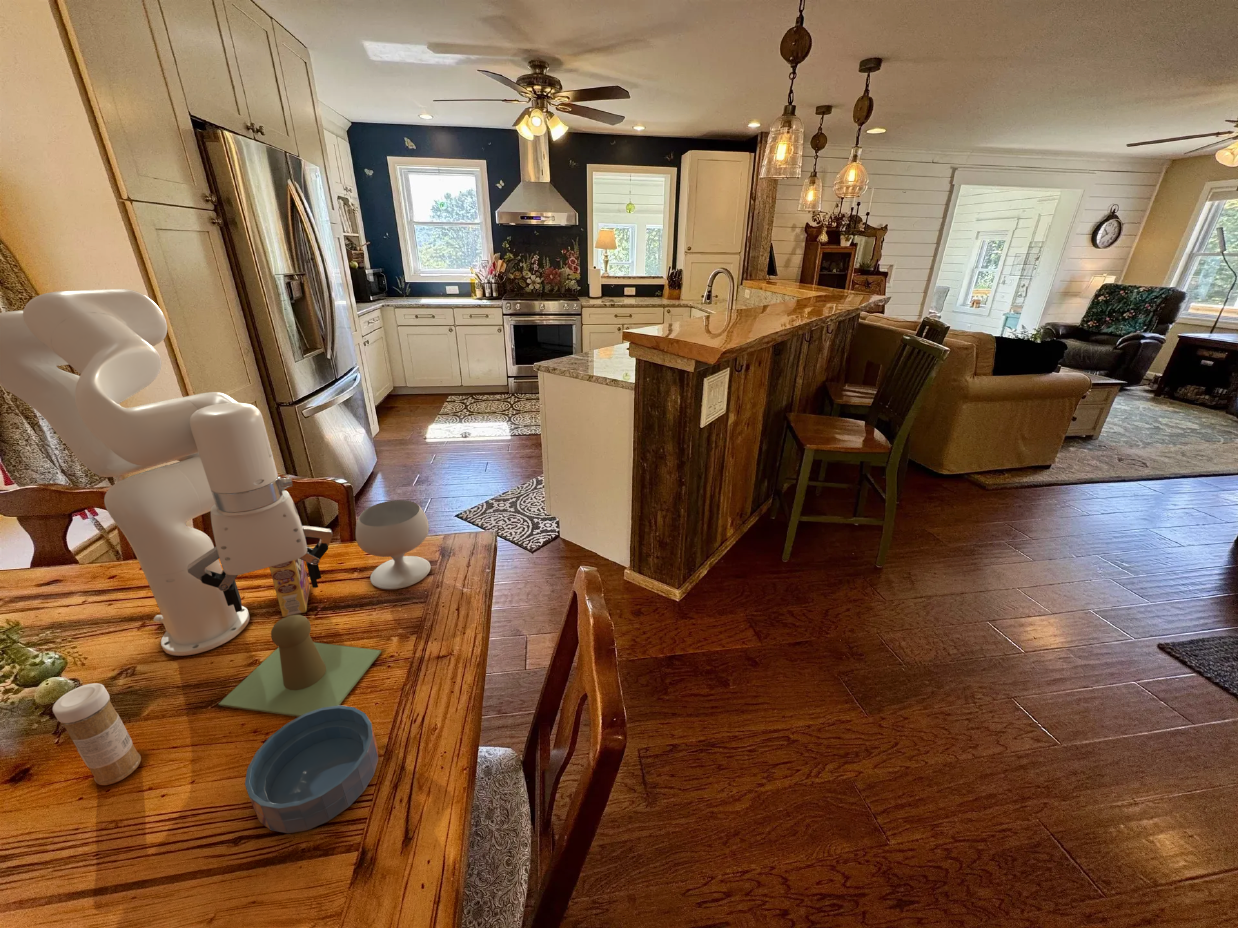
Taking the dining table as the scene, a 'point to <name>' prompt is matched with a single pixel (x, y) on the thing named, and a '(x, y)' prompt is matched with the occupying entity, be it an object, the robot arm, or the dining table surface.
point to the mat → (271, 695)
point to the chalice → (394, 542)
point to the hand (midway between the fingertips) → (278, 594)
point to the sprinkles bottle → (97, 733)
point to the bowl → (312, 768)
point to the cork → (297, 653)
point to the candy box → (291, 586)
